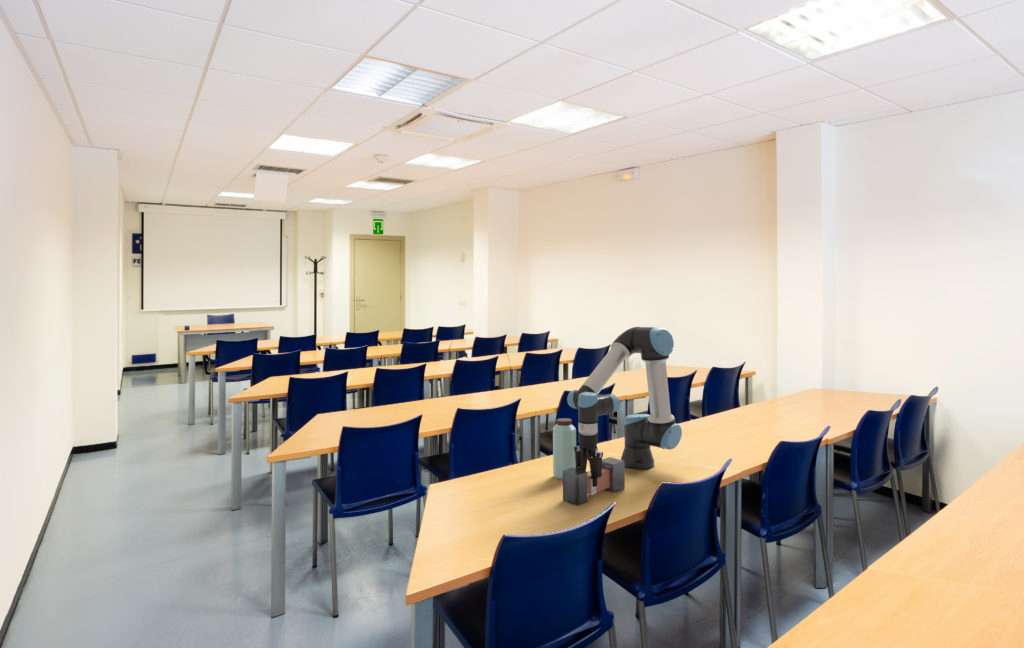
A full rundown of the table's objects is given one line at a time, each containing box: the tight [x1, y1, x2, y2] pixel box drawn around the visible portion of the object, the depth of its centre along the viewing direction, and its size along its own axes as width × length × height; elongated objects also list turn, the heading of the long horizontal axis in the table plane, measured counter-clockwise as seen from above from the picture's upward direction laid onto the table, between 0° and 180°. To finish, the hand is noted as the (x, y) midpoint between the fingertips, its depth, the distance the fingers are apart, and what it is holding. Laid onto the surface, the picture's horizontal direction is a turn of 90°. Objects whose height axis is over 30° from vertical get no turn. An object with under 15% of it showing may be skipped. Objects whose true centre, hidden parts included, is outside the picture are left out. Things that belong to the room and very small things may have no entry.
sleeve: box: [602, 456, 626, 494], centre depth 220 cm, size 7×7×12 cm
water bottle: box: [552, 417, 577, 481], centre depth 236 cm, size 10×10×25 cm
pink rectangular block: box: [586, 467, 611, 495], centre depth 214 cm, size 18×4×7 cm, turn 129°
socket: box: [562, 468, 589, 506], centre depth 207 cm, size 6×7×12 cm
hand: (588, 492), depth 212 cm, fingers closed on pink rectangular block, 4 cm apart
